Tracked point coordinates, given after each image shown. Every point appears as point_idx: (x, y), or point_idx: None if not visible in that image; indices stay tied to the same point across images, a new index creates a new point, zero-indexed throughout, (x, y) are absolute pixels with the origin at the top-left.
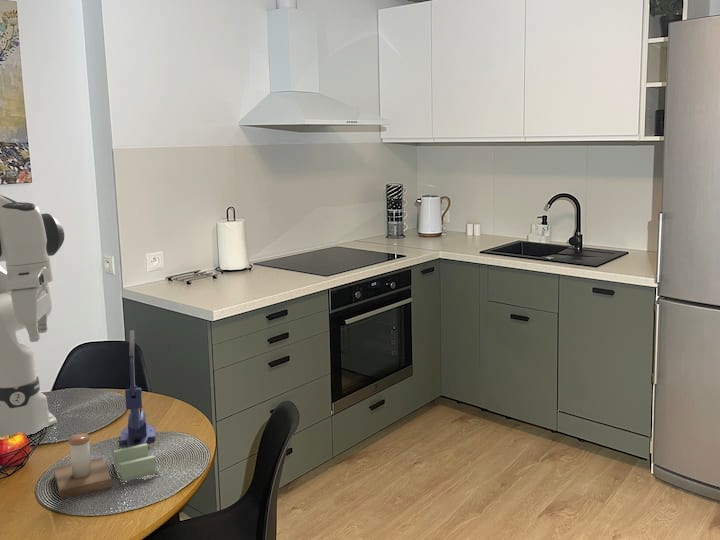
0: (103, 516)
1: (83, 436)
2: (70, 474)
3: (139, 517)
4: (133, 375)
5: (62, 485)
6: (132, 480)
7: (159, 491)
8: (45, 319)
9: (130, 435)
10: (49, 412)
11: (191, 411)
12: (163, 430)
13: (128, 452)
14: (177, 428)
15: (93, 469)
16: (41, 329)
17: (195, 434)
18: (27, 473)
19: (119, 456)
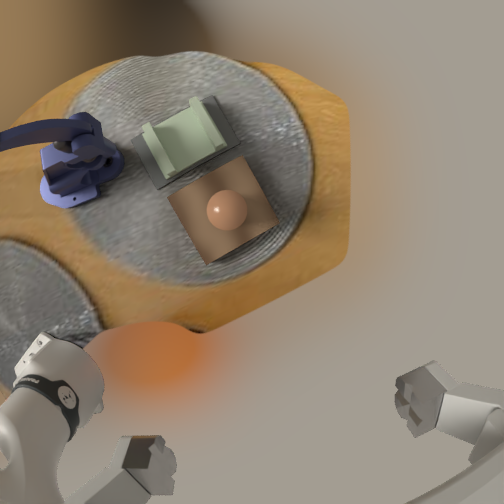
0: (315, 149)
1: (220, 202)
2: None
3: (316, 103)
4: (58, 119)
5: (262, 226)
6: (221, 132)
7: (250, 90)
8: (105, 493)
9: (86, 181)
10: (28, 349)
11: None
12: None
13: (164, 150)
14: None
15: (210, 195)
16: (162, 463)
17: (74, 94)
18: (193, 309)
19: (172, 164)
